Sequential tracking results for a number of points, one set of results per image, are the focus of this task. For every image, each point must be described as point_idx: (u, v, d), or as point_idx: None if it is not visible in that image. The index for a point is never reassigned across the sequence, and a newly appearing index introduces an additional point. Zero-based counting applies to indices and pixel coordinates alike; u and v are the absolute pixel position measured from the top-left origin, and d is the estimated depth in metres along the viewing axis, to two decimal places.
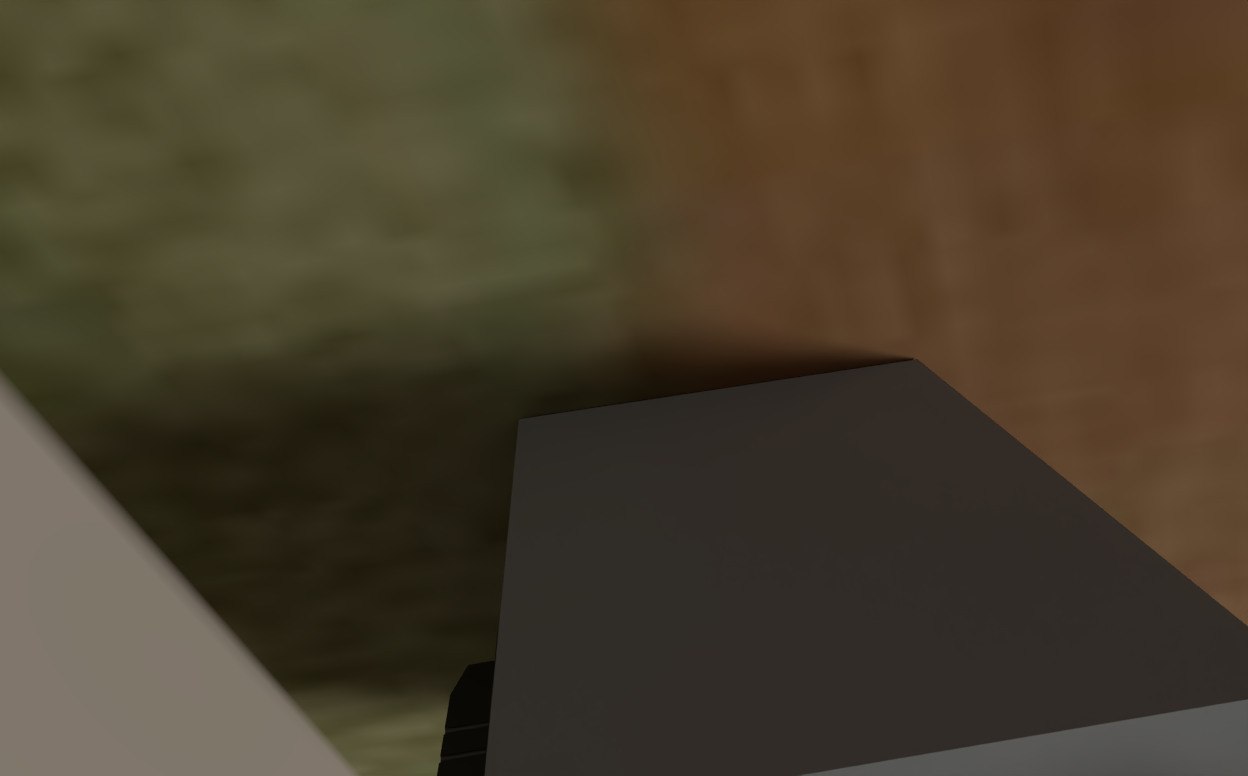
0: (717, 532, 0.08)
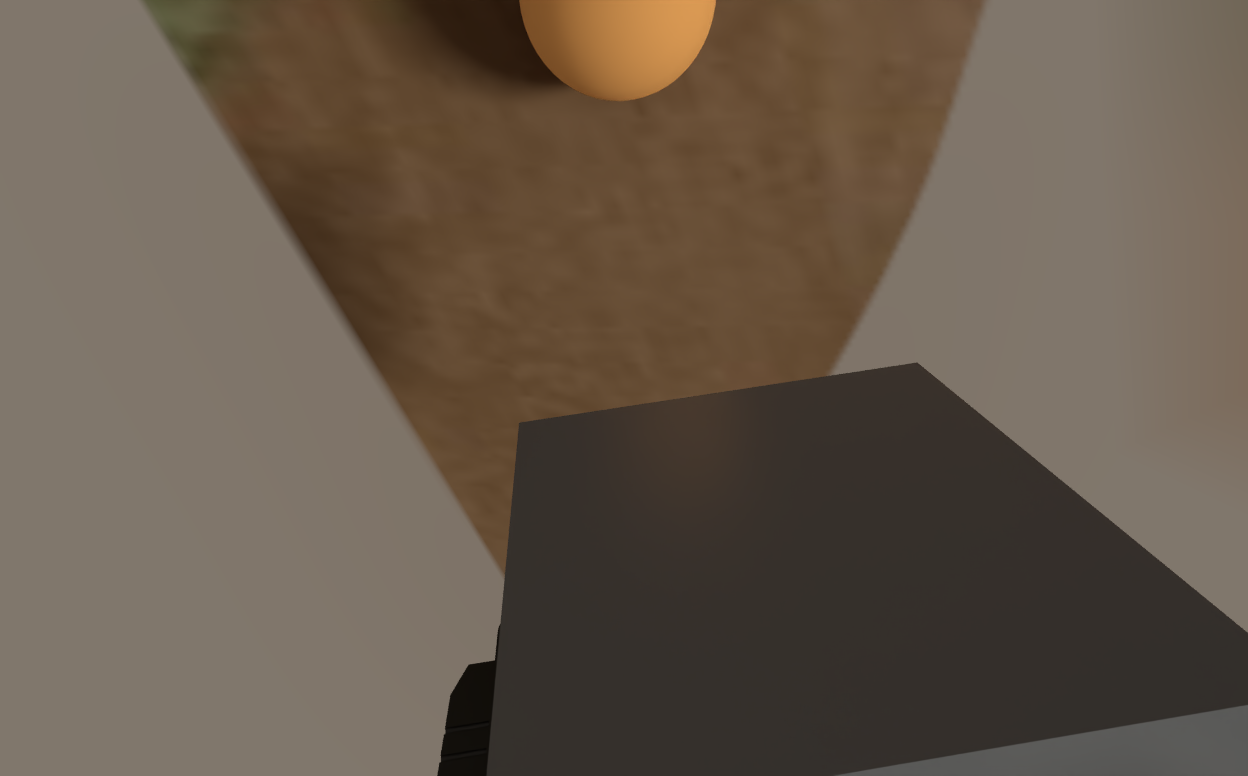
0: (717, 537, 0.08)
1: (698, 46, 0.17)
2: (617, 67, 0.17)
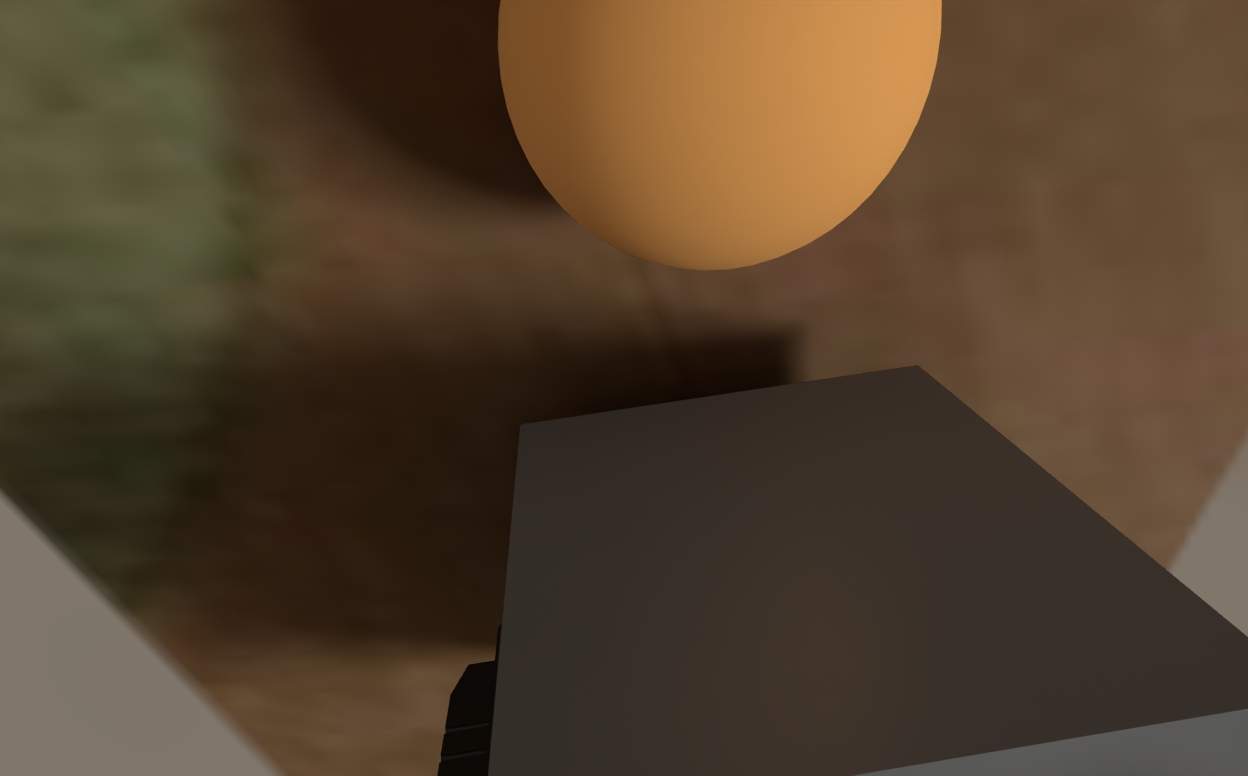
0: (718, 539, 0.08)
1: None
2: None
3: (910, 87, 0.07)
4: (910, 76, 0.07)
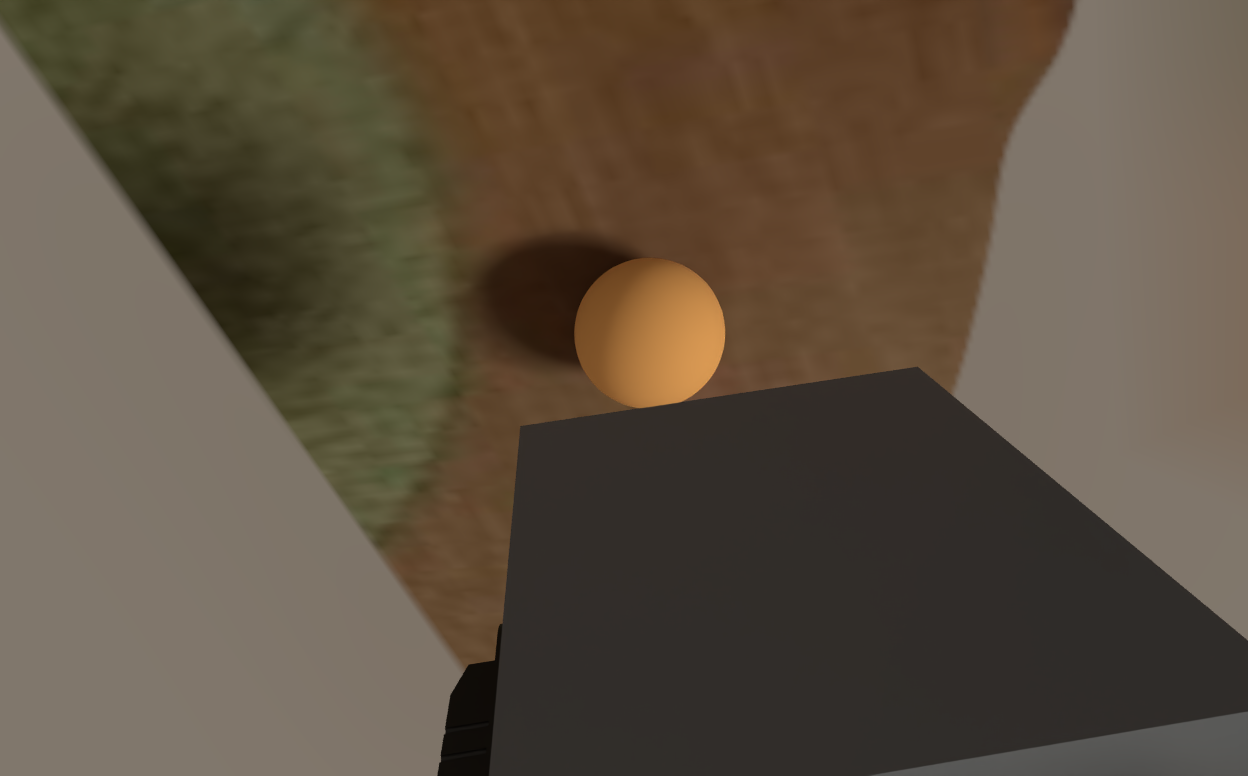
0: (718, 541, 0.08)
1: None
2: None
3: (708, 361, 0.21)
4: (706, 359, 0.21)
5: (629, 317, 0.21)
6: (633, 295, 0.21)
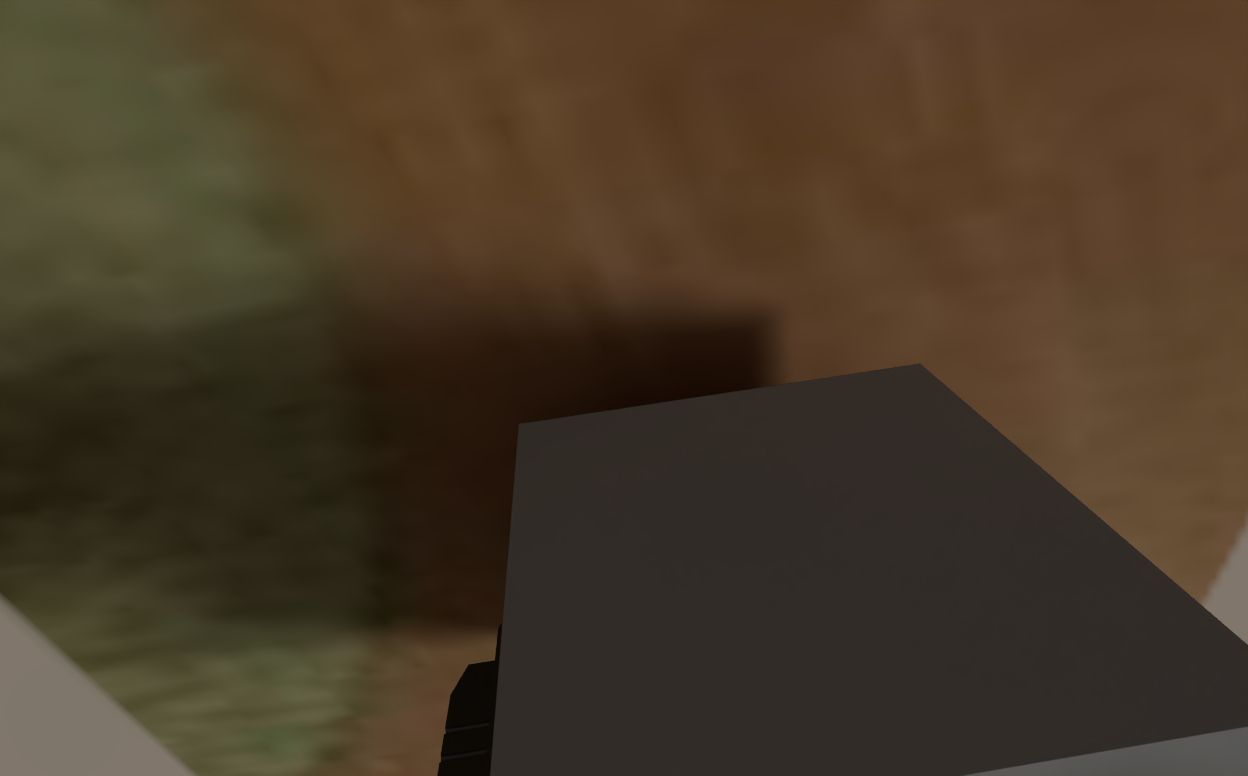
0: (719, 545, 0.08)
1: None
2: None
3: None
4: None
5: None
6: None
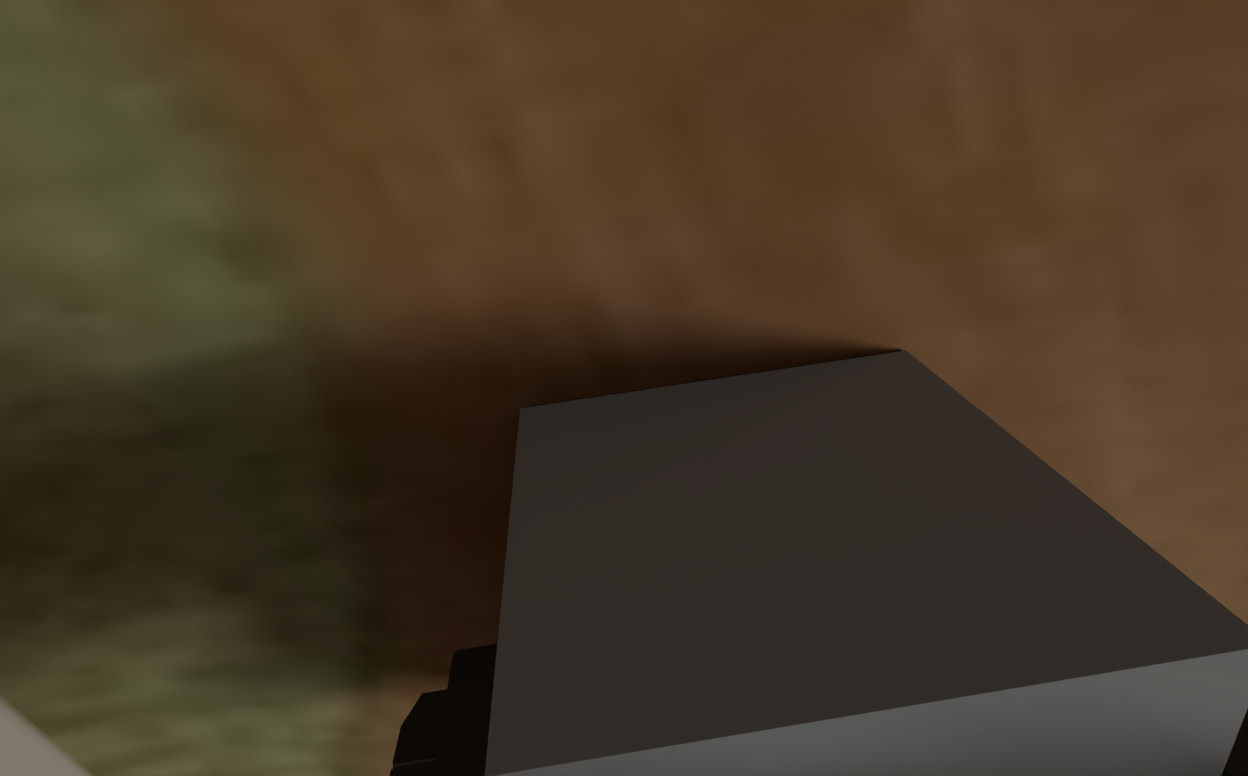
0: (710, 511, 0.08)
1: None
2: None
3: None
4: None
5: None
6: None
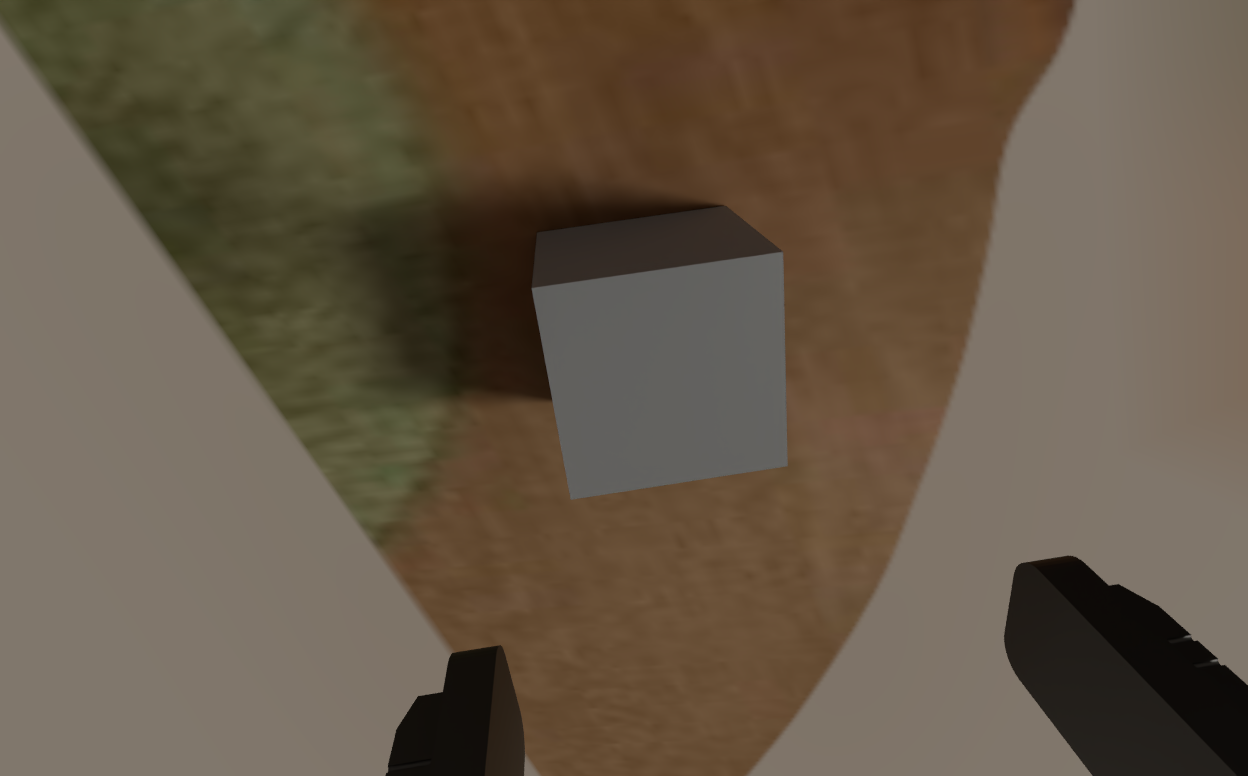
0: (616, 247, 0.20)
1: None
2: None
3: None
4: None
5: None
6: None
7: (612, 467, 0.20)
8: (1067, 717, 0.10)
